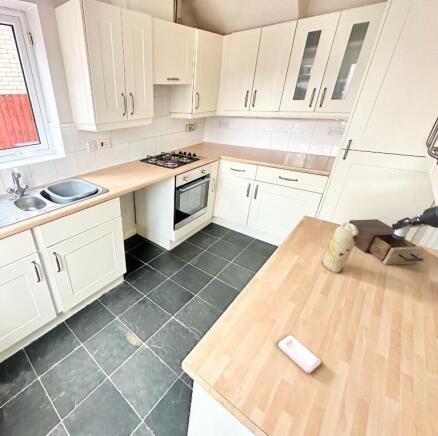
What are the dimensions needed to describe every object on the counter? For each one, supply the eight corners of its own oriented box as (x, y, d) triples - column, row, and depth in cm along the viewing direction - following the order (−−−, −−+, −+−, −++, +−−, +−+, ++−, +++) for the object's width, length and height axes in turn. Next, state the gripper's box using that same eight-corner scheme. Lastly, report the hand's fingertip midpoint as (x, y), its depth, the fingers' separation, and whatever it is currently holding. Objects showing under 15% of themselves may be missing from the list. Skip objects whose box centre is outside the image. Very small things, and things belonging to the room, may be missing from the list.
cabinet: (393, 251, 109) (404, 234, 104) (364, 252, 109) (373, 235, 104) (368, 235, 121) (377, 219, 116) (342, 236, 120) (349, 220, 116)
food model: (344, 276, 95) (365, 233, 86) (325, 272, 98) (343, 230, 88) (337, 261, 103) (356, 221, 94) (319, 258, 106) (335, 218, 96)
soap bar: (307, 376, 63) (310, 370, 62) (276, 347, 70) (278, 342, 69) (319, 366, 65) (322, 360, 64) (288, 339, 73) (290, 333, 71)
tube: (399, 235, 102) (409, 218, 98) (406, 240, 99) (416, 223, 95) (389, 234, 102) (398, 218, 99) (396, 239, 99) (406, 222, 95)
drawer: (424, 270, 97) (435, 254, 93) (394, 271, 96) (404, 255, 93) (387, 246, 111) (394, 231, 108) (361, 247, 111) (368, 232, 107)
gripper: (463, 203, 85) (411, 217, 102) (424, 204, 85) (378, 218, 101) (472, 224, 83) (417, 235, 99) (431, 225, 83) (384, 236, 99)
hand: (398, 226), depth 100 cm, fingers closed on tube, 3 cm apart
